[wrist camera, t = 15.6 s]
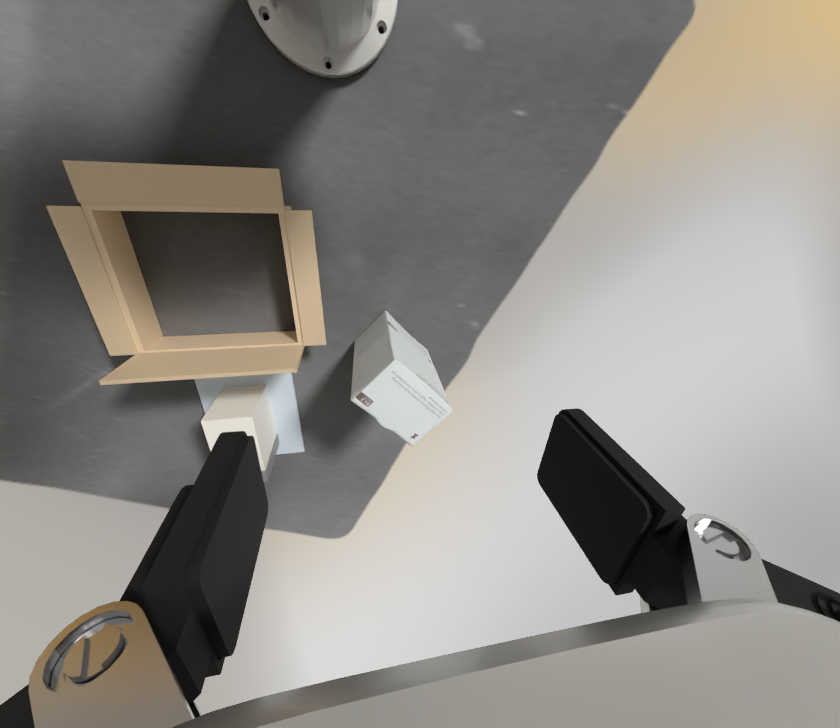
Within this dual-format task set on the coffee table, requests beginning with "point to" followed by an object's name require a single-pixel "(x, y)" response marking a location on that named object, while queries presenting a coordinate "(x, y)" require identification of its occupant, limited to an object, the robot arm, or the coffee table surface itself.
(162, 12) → the coffee table surface
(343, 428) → the coffee table surface
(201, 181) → the carton
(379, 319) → the skincare box
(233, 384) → the felt mat
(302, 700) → the robot arm
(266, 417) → the box
